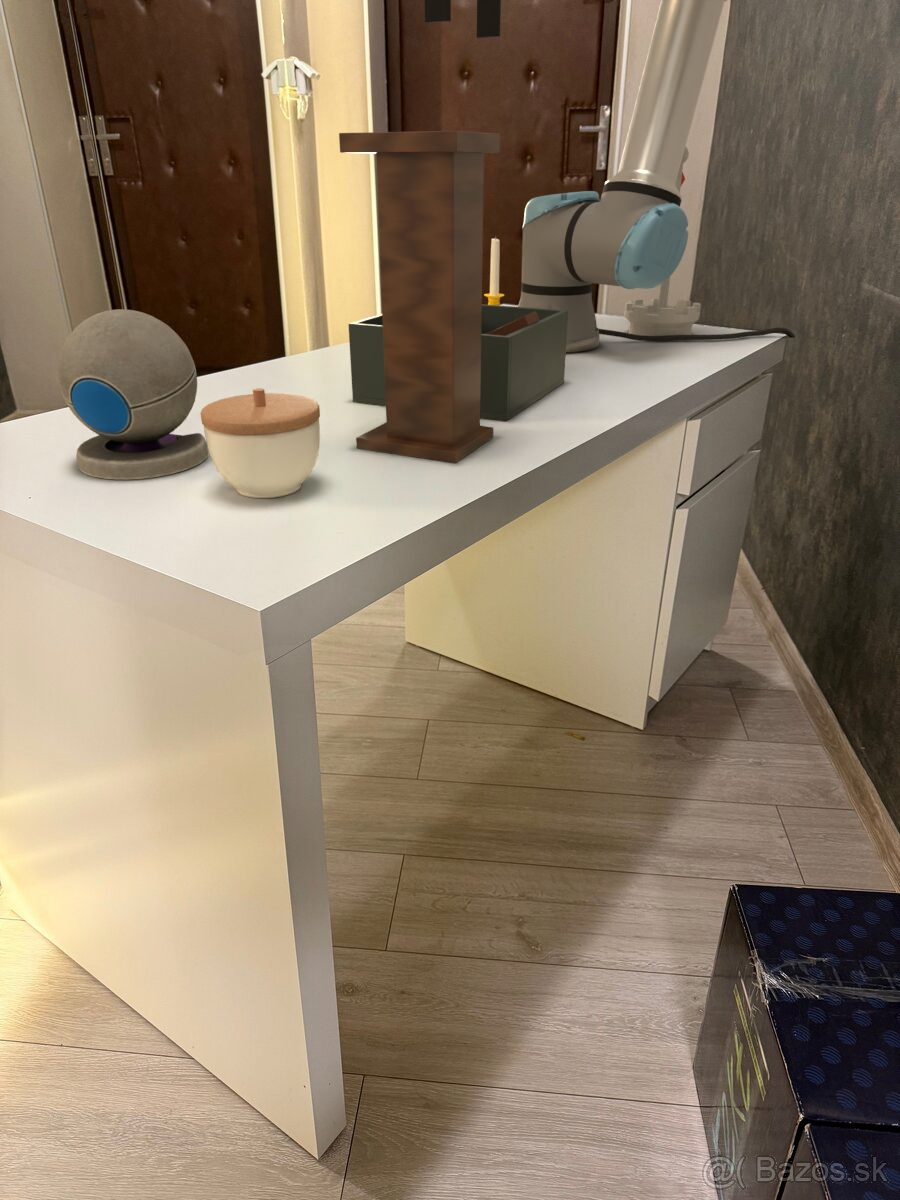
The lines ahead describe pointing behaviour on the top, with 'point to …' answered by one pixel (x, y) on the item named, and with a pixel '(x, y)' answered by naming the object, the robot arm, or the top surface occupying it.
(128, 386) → the webcam
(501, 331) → the scrub brush
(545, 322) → the dark green open box
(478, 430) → the shelf stand
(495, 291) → the candle
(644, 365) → the top surface
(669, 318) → the flag stand
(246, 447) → the trinket box
